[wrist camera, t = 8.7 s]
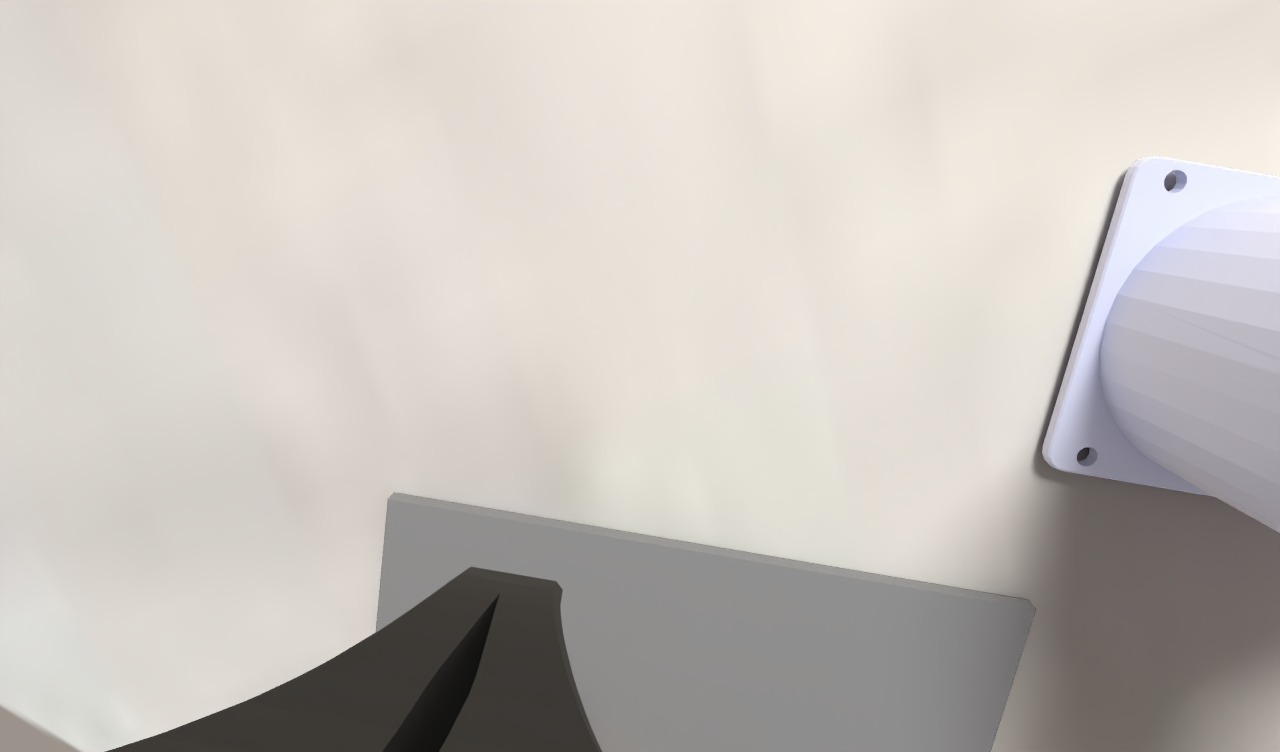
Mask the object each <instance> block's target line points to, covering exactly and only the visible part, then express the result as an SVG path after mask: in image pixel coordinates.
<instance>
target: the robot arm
mask: <svg viewBox="0 0 1280 752" xmlns="http://www.w3.org/2000/svg"><path fill="white" fill-rule="evenodd" d="M1170 172H1173V173H1174V174H1175V176H1176V184H1175V186H1174V188H1173V189H1172V190H1170V191H1167V190H1166V188H1165V187H1164V179H1165V178H1166V176H1167V174H1168V173H1170ZM1086 447H1089V448H1090V450H1089V455H1088V457H1087V458H1086V459H1084V460H1082V461H1077V454H1078V453H1079V451H1080V450H1082V449H1083V448H1086ZM1042 454H1043V457H1044V460H1045V461H1046V462H1047V463H1048V464H1049V465H1051V466H1052V467H1053V468H1055V469H1058V470H1060V471H1065V472H1071V473H1076V474H1082V475H1088V476H1094V477H1100V478H1106V479H1112V480H1118V481H1124V482H1130V483H1136V484H1141V485H1147V486H1153V487H1159V488H1165V489H1171V490H1177V491H1183V492H1189V493H1195V494H1201V495H1206V496H1212V497H1216V498H1218V499H1220V500H1222V501H1223V502H1225V503H1227V504H1229V505H1230V506H1232V507H1234V508H1236V509H1238V510H1239V511H1241V512H1243V513H1245V514H1246V515H1248V516H1250V517H1252V518H1254V519H1255V520H1257V521H1259V522H1261V523H1262V524H1264V525H1266V526H1268V527H1270V528H1271V529H1273V530H1275V531H1277V532H1278V533H1280V177H1279V176H1273V175H1267V174H1261V173H1256V172H1250V171H1244V170H1238V169H1232V168H1226V167H1220V166H1214V165H1208V164H1202V163H1196V162H1190V161H1184V160H1179V159H1173V158H1167V157H1161V156H1158V157H1144V158H1141V159H1139V160H1137V161H1135V162H1134V163H1133V164H1132V165H1131V166H1130V167H1129V169H1128V171H1127V173H1126V175H1125V178H1124V181H1123V185H1122V188H1121V191H1120V194H1119V198H1118V201H1117V204H1116V208H1115V211H1114V214H1113V217H1112V221H1111V224H1110V227H1109V230H1108V234H1107V237H1106V240H1105V244H1104V247H1103V250H1102V253H1101V257H1100V260H1099V263H1098V267H1097V270H1096V273H1095V276H1094V280H1093V283H1092V286H1091V290H1090V293H1089V296H1088V299H1087V303H1086V306H1085V309H1084V312H1083V316H1082V319H1081V322H1080V326H1079V329H1078V332H1077V335H1076V339H1075V342H1074V345H1073V349H1072V352H1071V355H1070V358H1069V362H1068V365H1067V368H1066V372H1065V375H1064V378H1063V381H1062V385H1061V388H1060V391H1059V394H1058V398H1057V401H1056V404H1055V408H1054V411H1053V414H1052V417H1051V421H1050V424H1049V427H1048V431H1047V434H1046V437H1045V440H1044V444H1043V449H1042ZM562 592H563V590H562V588H561V587H560V585H559V584H558V583H557V581H553V580H547V579H541V578H535V577H529V576H524V575H518V574H512V573H506V572H500V571H494V570H488V569H482V568H476V567H470V568H468V569H467V570H465V571H464V572H462V573H461V574H459V575H458V576H456V577H455V578H453V579H452V580H451V581H449V582H448V583H447V584H445V585H444V586H442V587H441V588H440V589H438V590H437V591H436V592H434V593H433V594H431V595H430V596H429V597H427V598H426V599H424V600H423V601H422V602H420V603H419V604H417V605H416V606H415V607H413V608H412V609H410V610H409V611H407V612H406V613H404V614H403V615H401V616H400V617H398V618H397V619H396V620H394V621H393V622H391V623H390V624H388V625H387V626H385V627H384V628H382V629H381V630H379V631H378V632H376V633H374V634H373V635H371V636H369V637H368V638H366V639H364V640H363V641H361V642H359V643H358V644H356V645H354V646H353V647H351V648H349V649H348V650H346V651H344V652H343V653H341V654H339V655H338V656H336V657H334V658H333V659H331V660H329V661H327V662H326V663H324V664H322V665H320V666H318V667H316V668H314V669H312V670H310V671H308V672H307V673H305V674H303V675H301V676H299V677H297V678H295V679H293V680H290V681H288V682H286V683H284V684H282V685H280V686H278V687H276V688H273V689H271V690H269V691H267V692H265V693H263V694H261V695H259V696H256V697H254V698H252V699H249V700H247V701H245V702H242V703H240V704H237V705H235V706H232V707H229V708H227V709H224V710H222V711H219V712H217V713H214V714H211V715H209V716H206V717H204V718H201V719H198V720H196V721H193V722H191V723H188V724H186V725H183V726H180V727H178V728H175V729H173V730H170V731H167V732H165V733H162V734H159V735H156V736H153V737H150V738H147V739H144V740H141V741H137V742H134V743H131V744H128V745H125V746H122V747H119V748H116V749H113V750H109V751H106V752H602V750H601V748H600V746H599V744H598V742H597V740H596V737H595V735H594V733H593V730H592V728H591V725H590V723H589V720H588V718H587V715H586V713H585V710H584V707H583V704H582V701H581V698H580V696H579V693H578V690H577V687H576V683H575V680H574V677H573V673H572V669H571V665H570V661H569V657H568V653H567V649H566V645H565V640H564V635H563V628H562V620H561V599H562Z"/></svg>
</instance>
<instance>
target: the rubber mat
mask: <svg viewBox="0 0 1280 752" xmlns="http://www.w3.org/2000/svg"><path fill="white" fill-rule="evenodd" d="M470 567H476V568H482V569H488V570H494V571H500V572H506V573H512V574H518V575H524V576H529V577H535V578H541V579H547V580H553V581H557V583H558V584H559V585H560V587H561V588H562V590H563V592H562V599H561V620H562V628H563V635H564V640H565V645H566V649H567V653H568V657H569V661H570V665H571V669H572V673H573V677H574V680H575V683H576V687H577V690H578V693H579V696H580V698H581V701H582V704H583V707H584V710H585V713H586V715H587V718H588V720H589V723H590V725H591V728H592V730H593V733H594V735H595V737H596V740H597V742H598V744H599V746H600V748H601V750H602V752H991V749H992V746H993V742H994V739H995V736H996V733H997V730H998V727H999V724H1000V720H1001V717H1002V714H1003V711H1004V708H1005V705H1006V702H1007V699H1008V695H1009V692H1010V689H1011V686H1012V683H1013V680H1014V677H1015V674H1016V670H1017V667H1018V664H1019V661H1020V658H1021V655H1022V652H1023V649H1024V645H1025V642H1026V639H1027V636H1028V633H1029V630H1030V627H1031V624H1032V620H1033V617H1034V614H1035V611H1036V608H1035V607H1034V606H1033V605H1032V604H1031V603H1030V602H1029V600H1027V599H1021V598H1015V597H1009V596H1003V595H997V594H991V593H985V592H979V591H973V590H967V589H962V588H956V587H950V586H944V585H938V584H932V583H926V582H920V581H914V580H908V579H903V578H897V577H891V576H885V575H879V574H873V573H867V572H861V571H855V570H849V569H843V568H838V567H832V566H826V565H820V564H814V563H808V562H802V561H796V560H790V559H784V558H778V557H773V556H767V555H761V554H755V553H749V552H743V551H737V550H731V549H725V548H719V547H713V546H708V545H702V544H696V543H690V542H684V541H678V540H672V539H666V538H660V537H654V536H649V535H643V534H637V533H631V532H625V531H619V530H613V529H607V528H601V527H595V526H589V525H584V524H578V523H572V522H566V521H560V520H554V519H548V518H542V517H536V516H530V515H524V514H519V513H513V512H507V511H501V510H495V509H489V508H483V507H477V506H471V505H465V504H459V503H454V502H448V501H442V500H436V499H430V498H424V497H418V496H412V495H406V494H400V493H395V492H394V493H393V494H392V495H391V496H390V498H389V499H388V503H387V514H386V525H385V536H384V547H383V557H382V568H381V579H380V590H379V601H378V612H377V623H376V632H378V631H379V630H381V629H382V628H384V627H385V626H387V625H388V624H390V623H391V622H393V621H394V620H396V619H397V618H398V617H400V616H401V615H403V614H404V613H406V612H407V611H409V610H410V609H412V608H413V607H415V606H416V605H417V604H419V603H420V602H422V601H423V600H424V599H426V598H427V597H429V596H430V595H431V594H433V593H434V592H436V591H437V590H438V589H440V588H441V587H442V586H444V585H445V584H447V583H448V582H449V581H451V580H452V579H453V578H455V577H456V576H458V575H459V574H461V573H462V572H464V571H465V570H467V569H468V568H470Z"/></svg>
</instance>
